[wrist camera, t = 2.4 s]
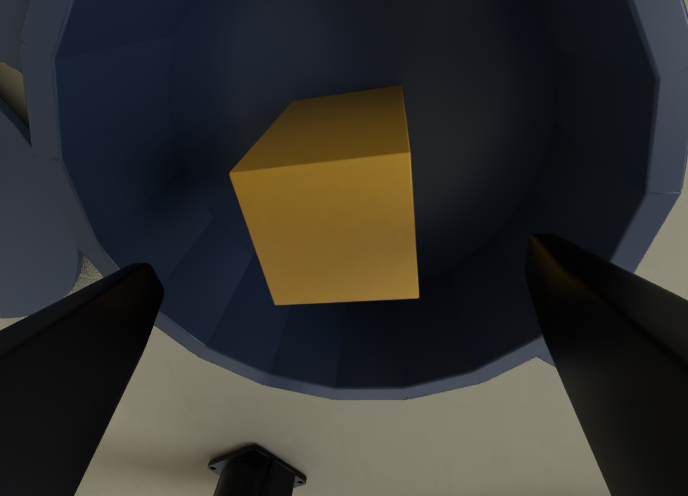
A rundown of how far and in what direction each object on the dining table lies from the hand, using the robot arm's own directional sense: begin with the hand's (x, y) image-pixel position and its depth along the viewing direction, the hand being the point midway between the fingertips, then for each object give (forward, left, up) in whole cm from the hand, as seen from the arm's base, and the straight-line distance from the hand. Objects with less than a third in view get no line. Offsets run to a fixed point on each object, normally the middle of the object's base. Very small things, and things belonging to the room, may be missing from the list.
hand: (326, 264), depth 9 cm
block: (0, 0, -8) cm, 8 cm away
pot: (0, 0, -8) cm, 8 cm away
